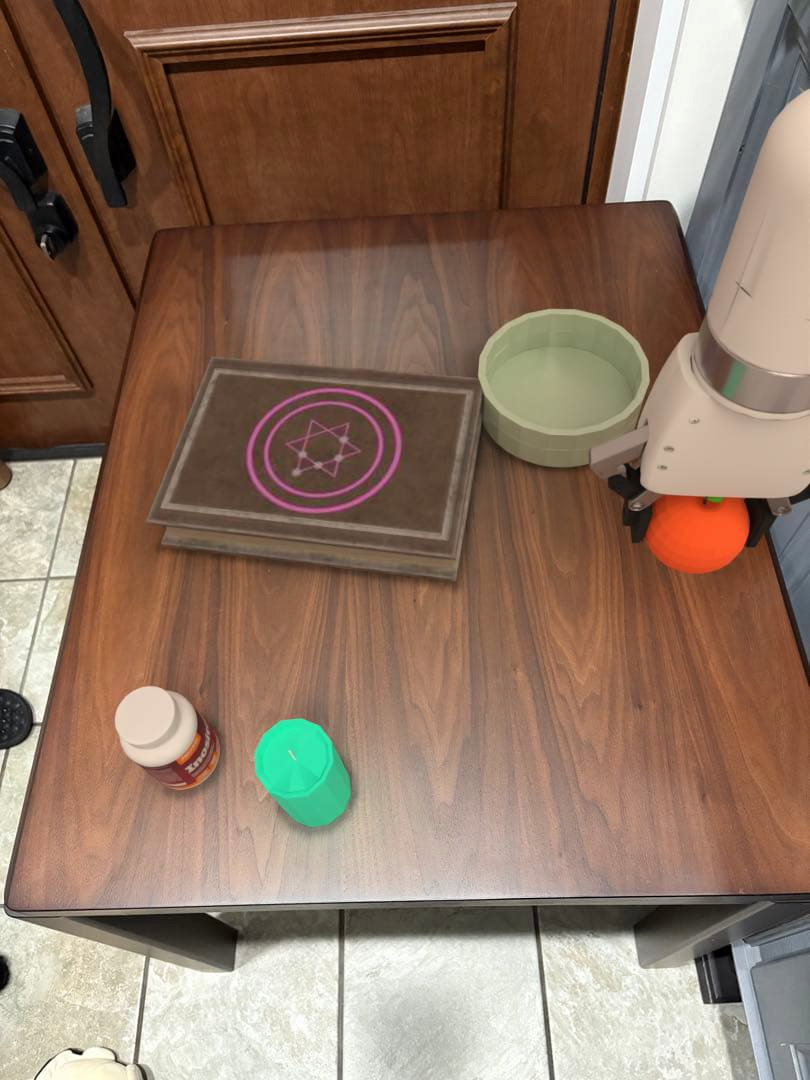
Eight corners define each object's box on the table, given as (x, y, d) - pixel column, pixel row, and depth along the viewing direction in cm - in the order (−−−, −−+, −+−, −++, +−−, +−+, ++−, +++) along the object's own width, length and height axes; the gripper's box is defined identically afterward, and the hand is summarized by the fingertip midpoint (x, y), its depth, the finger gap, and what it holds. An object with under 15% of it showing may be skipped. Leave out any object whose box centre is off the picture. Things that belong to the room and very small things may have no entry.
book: (162, 546, 82) (145, 521, 77) (224, 383, 93) (212, 352, 88) (456, 582, 77) (455, 557, 73) (485, 405, 88) (485, 374, 84)
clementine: (671, 484, 61) (693, 425, 54) (757, 529, 58) (790, 473, 52) (616, 558, 58) (633, 504, 52) (704, 609, 55) (733, 559, 49)
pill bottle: (214, 793, 68) (174, 757, 59) (145, 789, 69) (94, 753, 59) (227, 722, 71) (191, 678, 62) (161, 719, 72) (115, 675, 63)
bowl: (636, 346, 91) (645, 310, 86) (643, 471, 82) (653, 438, 78) (482, 342, 93) (483, 306, 88) (473, 463, 84) (473, 431, 80)
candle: (272, 773, 69) (238, 731, 58) (336, 744, 70) (314, 698, 59) (295, 839, 66) (263, 807, 56) (361, 809, 67) (342, 772, 56)
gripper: (934, 296, 42) (809, 488, 57) (598, 293, 44) (564, 480, 59) (974, 406, 38) (828, 580, 53) (604, 398, 40) (566, 569, 55)
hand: (690, 526), depth 56 cm, fingers closed on clementine, 7 cm apart
